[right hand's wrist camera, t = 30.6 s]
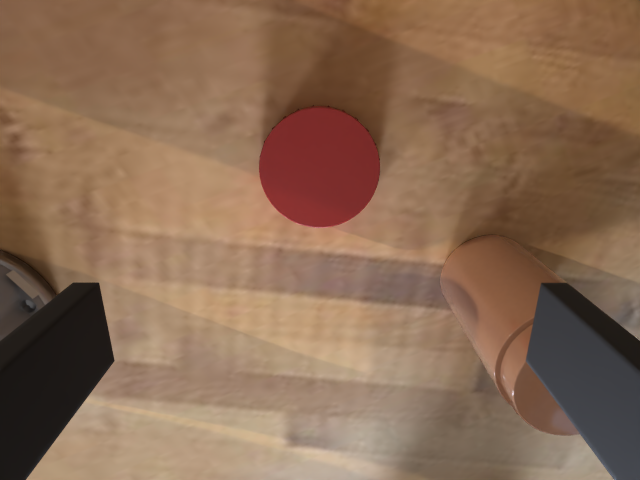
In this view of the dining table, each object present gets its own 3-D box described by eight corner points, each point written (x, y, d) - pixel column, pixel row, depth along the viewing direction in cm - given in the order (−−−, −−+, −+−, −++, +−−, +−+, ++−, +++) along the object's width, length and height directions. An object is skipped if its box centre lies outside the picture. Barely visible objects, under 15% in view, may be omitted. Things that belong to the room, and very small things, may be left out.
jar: (513, 323, 43) (615, 448, 28) (429, 309, 43) (488, 430, 28) (544, 243, 40) (677, 336, 25) (454, 227, 40) (536, 313, 25)
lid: (253, 111, 36) (249, 113, 34) (373, 98, 36) (377, 99, 33) (270, 225, 40) (267, 233, 37) (380, 214, 39) (383, 222, 37)
